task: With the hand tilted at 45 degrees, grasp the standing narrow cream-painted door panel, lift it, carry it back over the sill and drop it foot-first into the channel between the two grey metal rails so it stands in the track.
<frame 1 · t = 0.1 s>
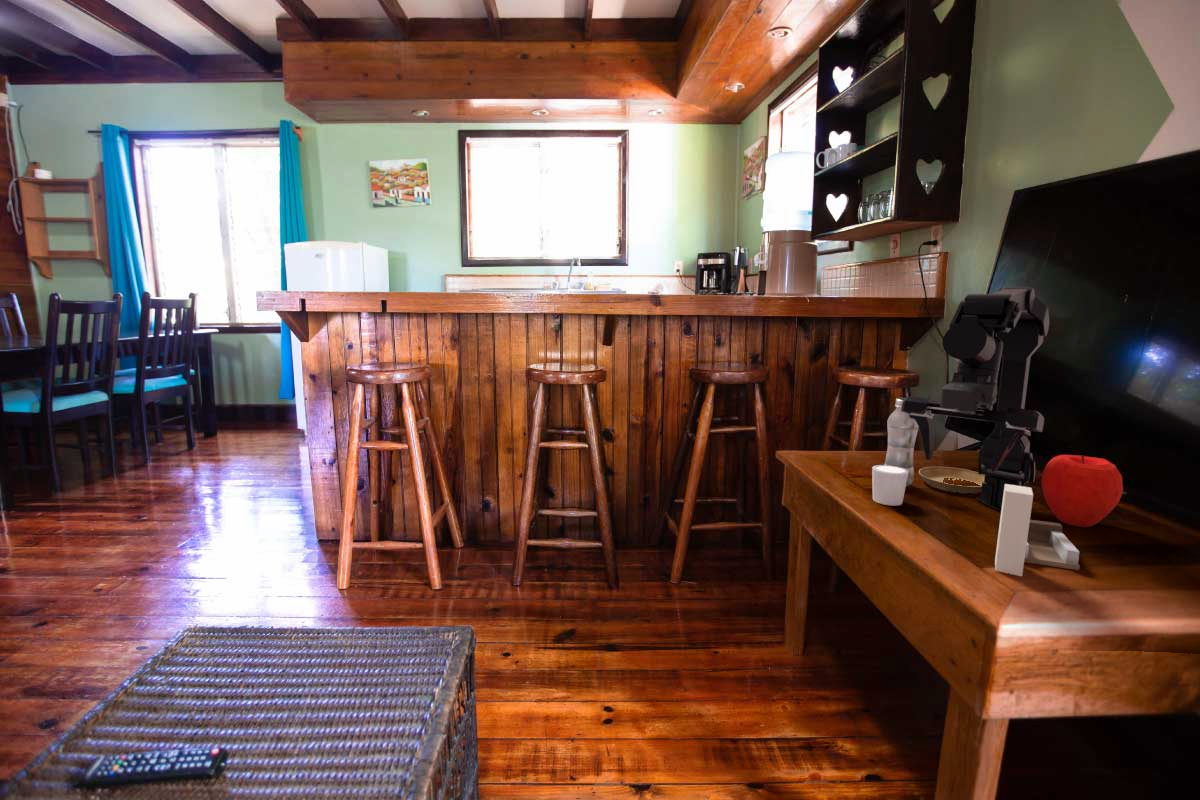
hand: (959, 465, 92), 15 cm above the table, tool pointing down, fingers open, 9 cm apart
apple: (1075, 524, 109), on the table
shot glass: (887, 501, 121), on the table
door panel: (1008, 568, 91), on the table
sill track: (1036, 552, 96), on the table
plastic bottle: (896, 485, 131), on the table
plant saucer: (954, 487, 131), on the table
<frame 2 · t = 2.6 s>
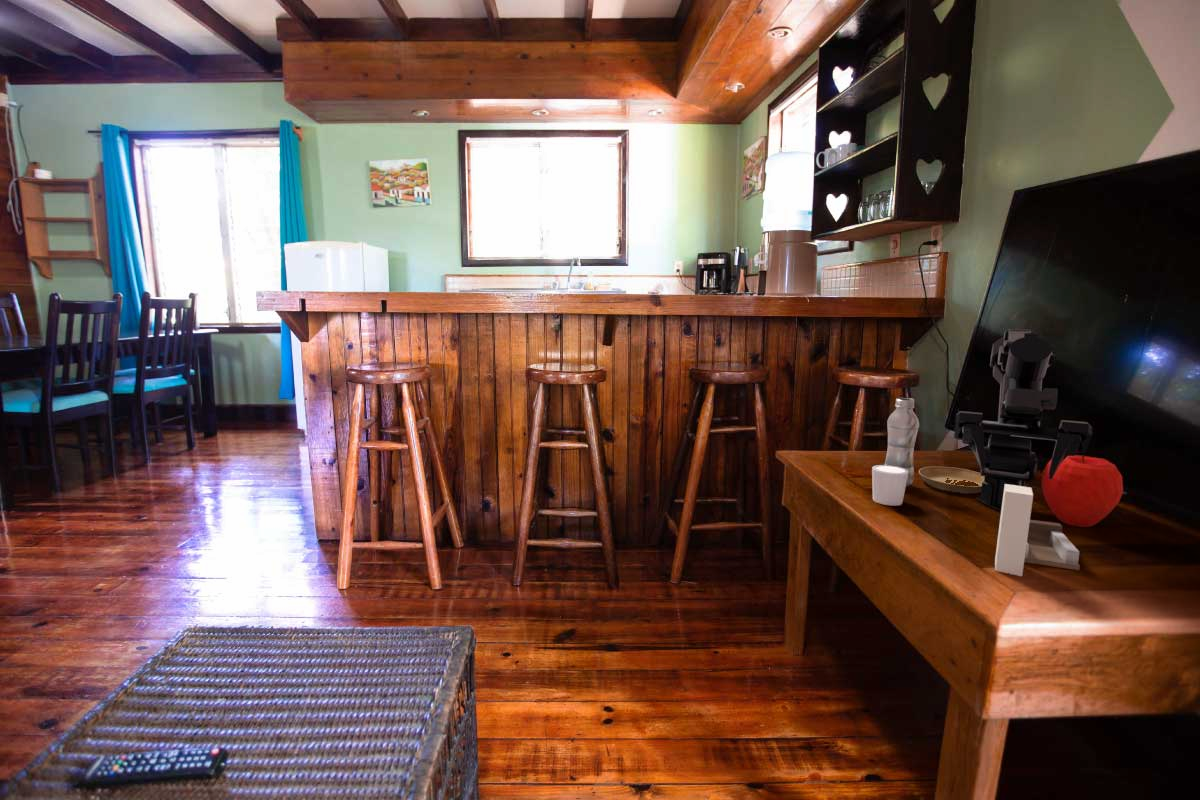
hand: (1015, 473, 95), 13 cm above the table, tool tilted 45°, fingers open, 9 cm apart
nothing on the table moved.
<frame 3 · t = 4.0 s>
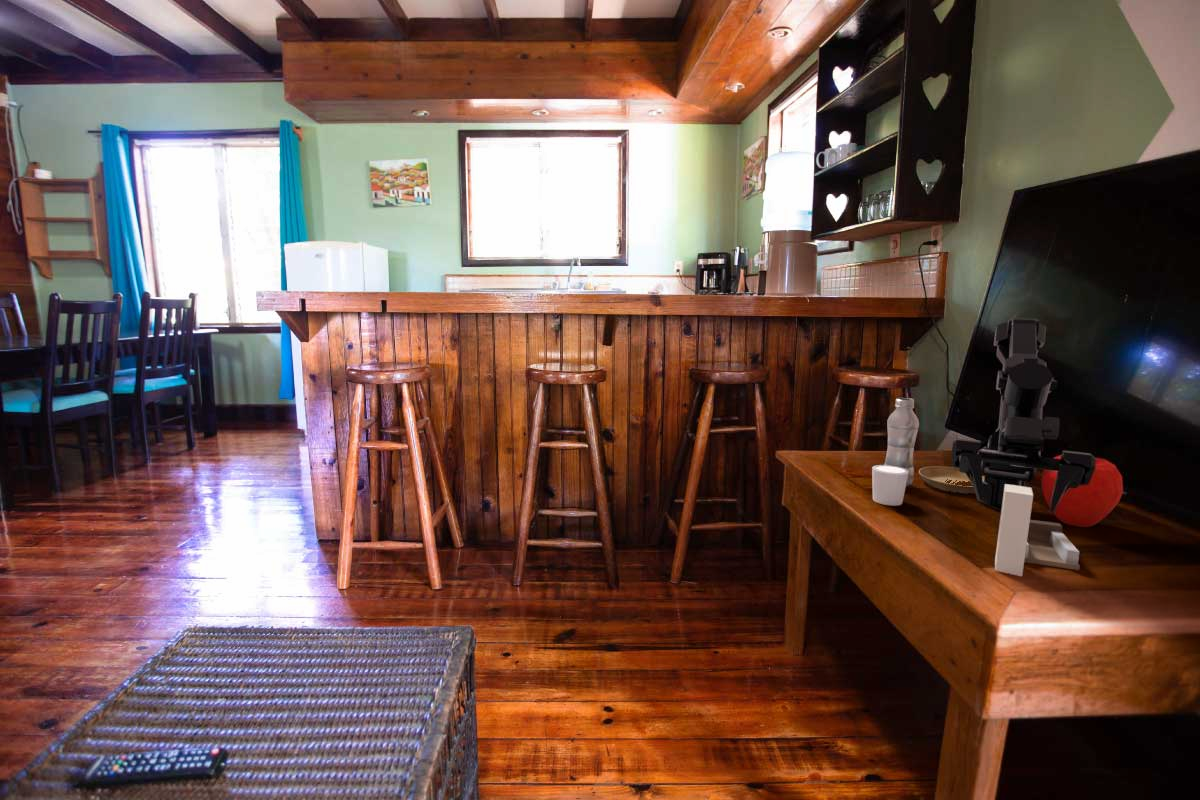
hand: (1015, 506, 90), 10 cm above the table, tool tilted 45°, fingers open, 9 cm apart
nothing on the table moved.
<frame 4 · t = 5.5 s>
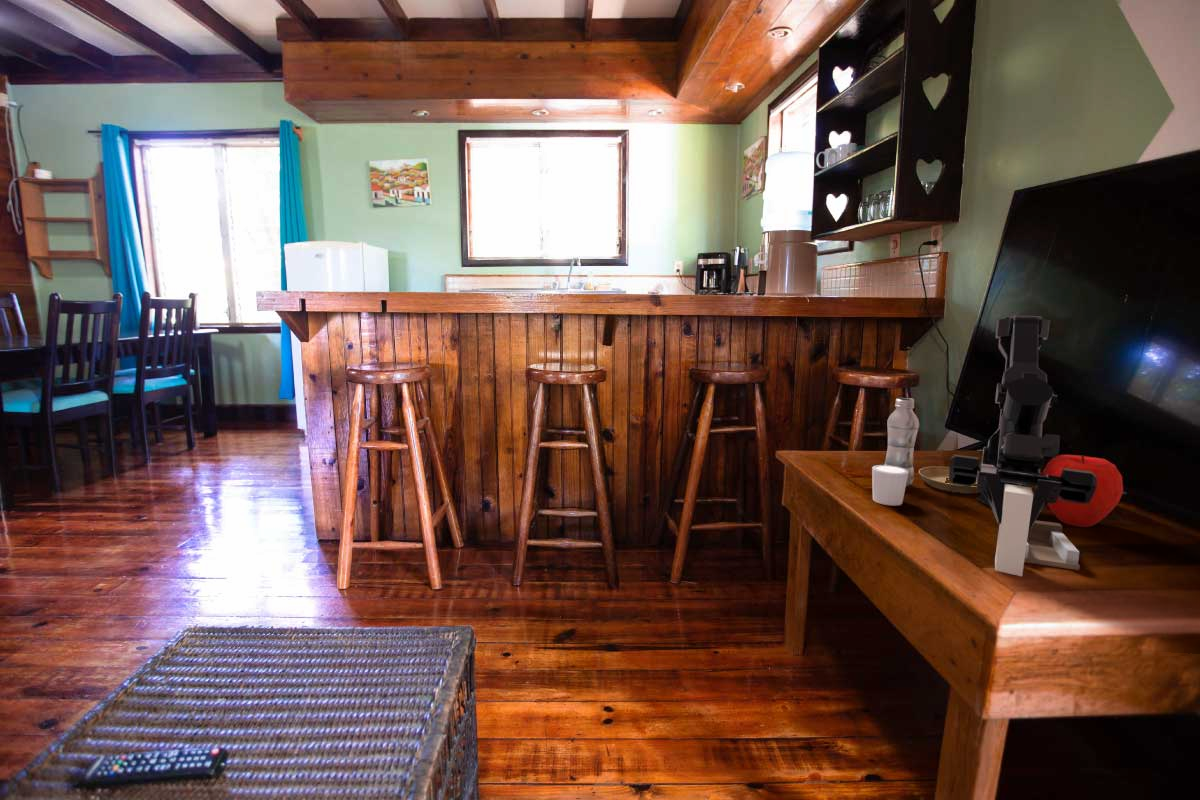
hand: (1014, 525, 88), 8 cm above the table, tool tilted 45°, fingers closed on door panel, 3 cm apart
door panel: (1008, 568, 91), on the table, touching gripper
everything else where it was.
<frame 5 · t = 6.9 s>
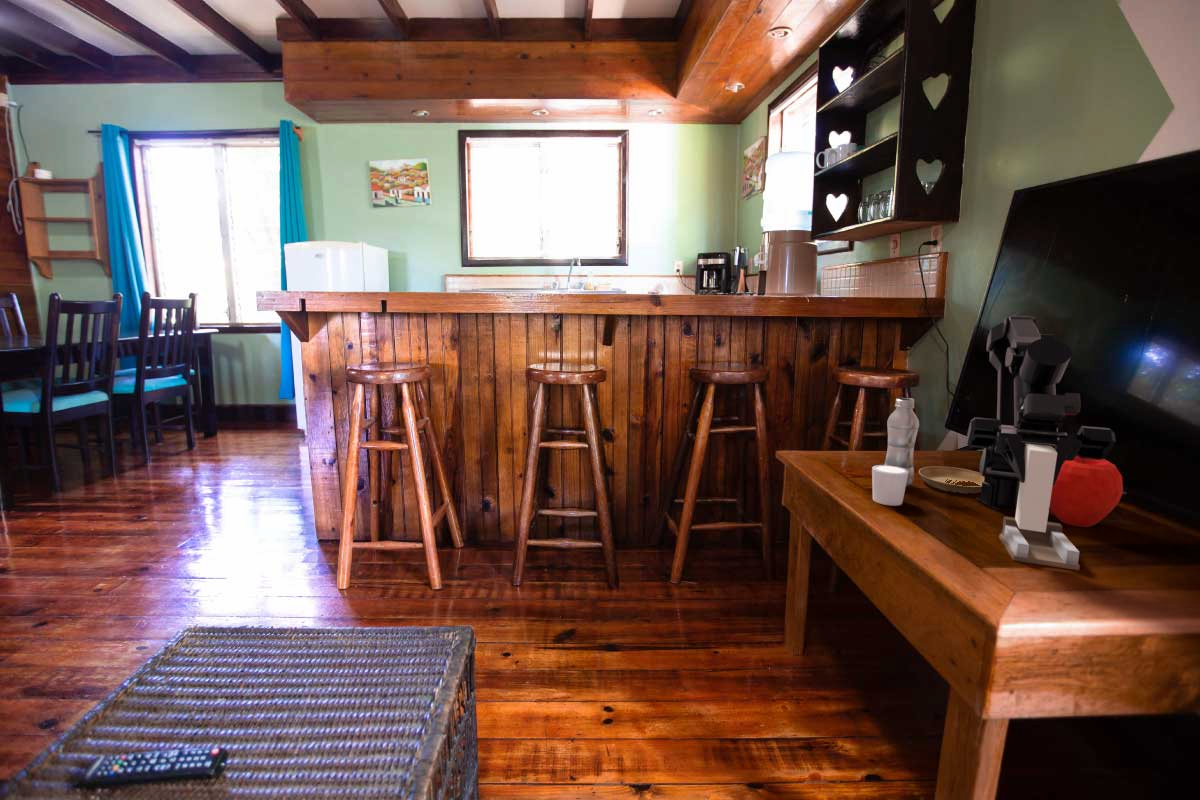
hand: (1037, 483, 90), 13 cm above the table, tool tilted 45°, fingers closed on door panel, 3 cm apart
door panel: (1029, 525, 93), point 6 cm above the table, touching gripper
everything else where it was.
when the fingers open (11 cm above the table, at t = 8.1 s): door panel drops 2 cm, resting on sill track.
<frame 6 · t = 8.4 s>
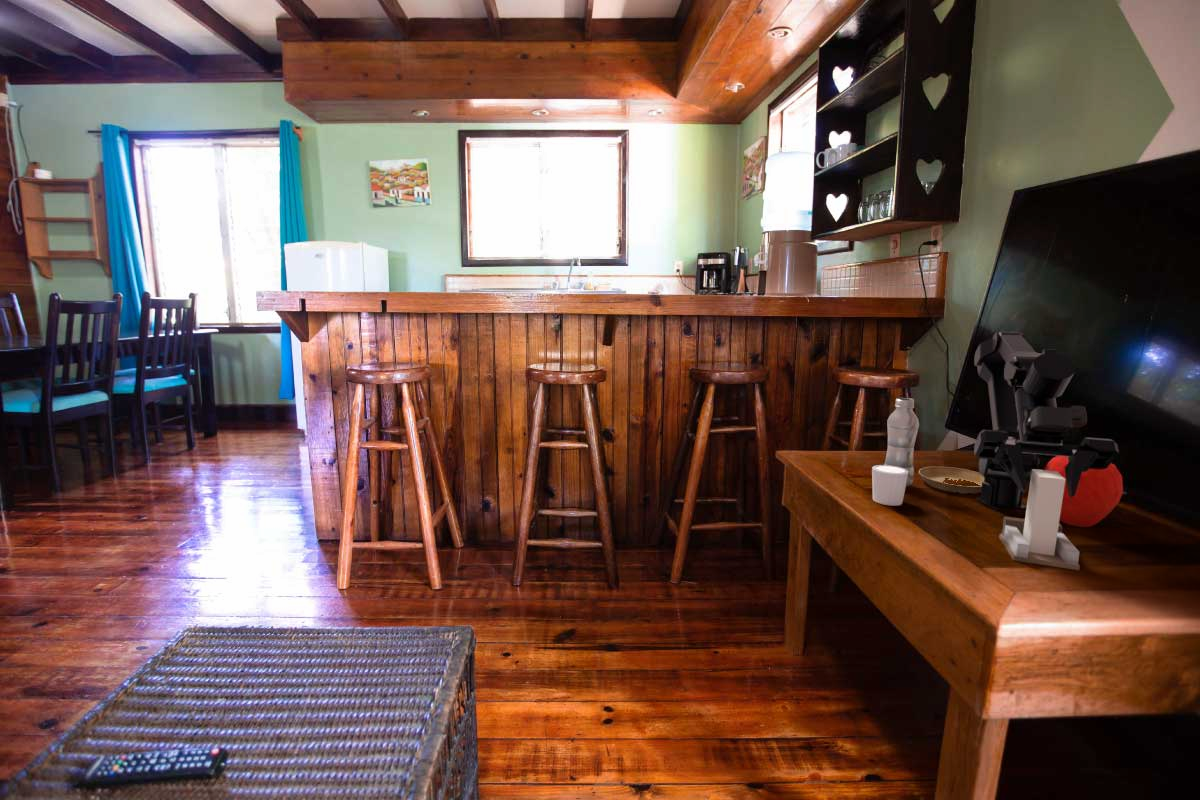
hand: (1047, 493, 93), 11 cm above the table, tool tilted 45°, fingers open, 6 cm apart
door panel: (1037, 548, 96), point 1 cm above the table, touching sill track
everything else where it was.
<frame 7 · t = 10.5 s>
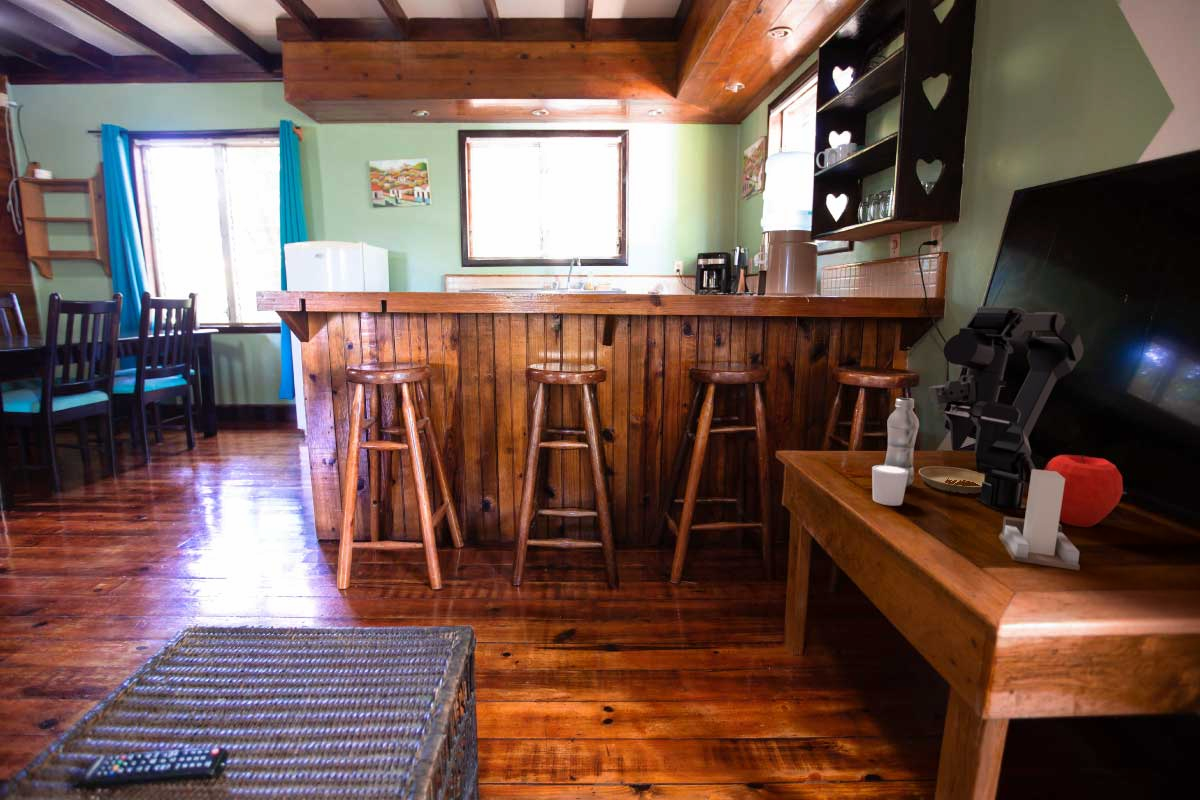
hand: (966, 453, 109), 13 cm above the table, tool pointing down, fingers open, 9 cm apart
nothing on the table moved.
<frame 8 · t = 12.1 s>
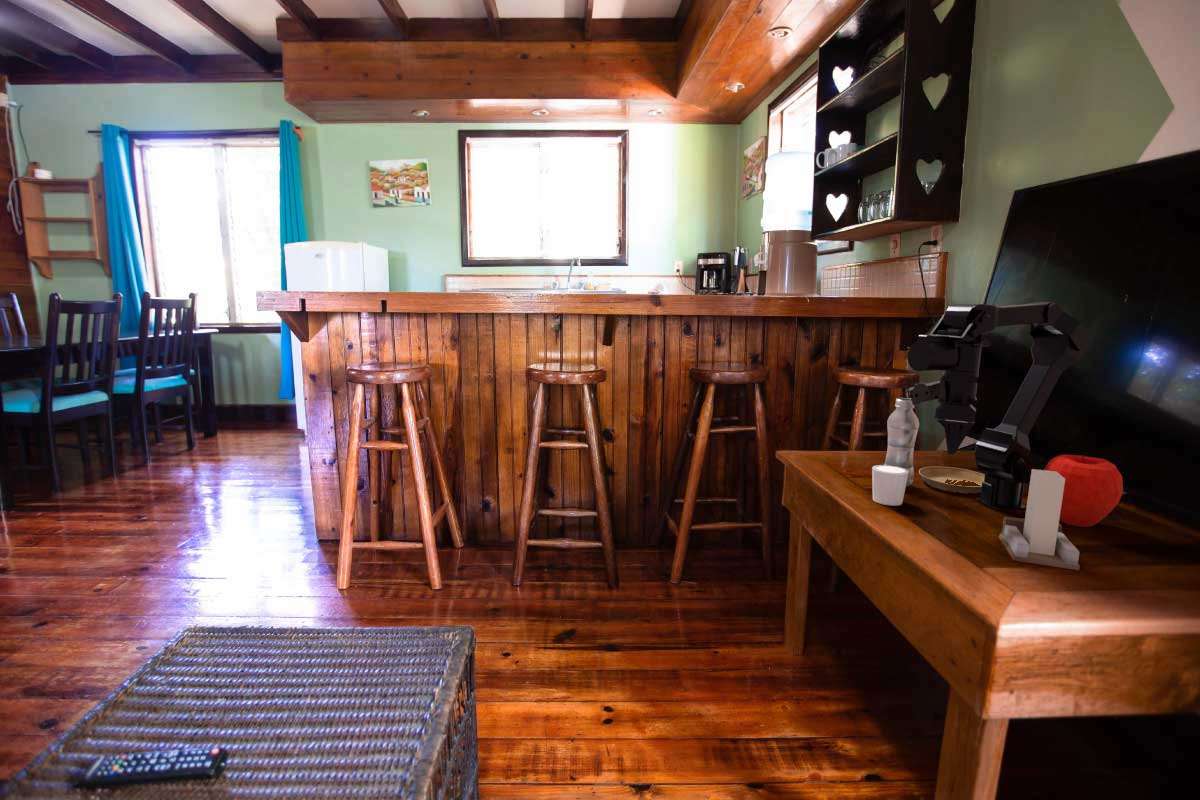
hand: (952, 449, 112), 13 cm above the table, tool pointing down, fingers open, 9 cm apart
nothing on the table moved.
at the end: door panel 0.1 cm off-centre on the sill track, point 0.8 cm above the sill track's base; door panel tilted 0°; the gripper is holding nothing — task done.
